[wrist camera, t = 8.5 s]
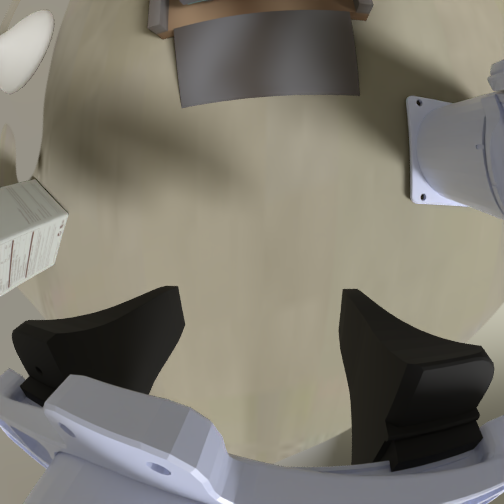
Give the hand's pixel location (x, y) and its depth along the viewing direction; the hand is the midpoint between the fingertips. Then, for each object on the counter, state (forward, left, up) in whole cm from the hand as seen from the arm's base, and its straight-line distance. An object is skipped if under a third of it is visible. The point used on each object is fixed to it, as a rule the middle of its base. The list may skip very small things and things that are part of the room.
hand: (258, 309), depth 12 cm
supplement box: (+25, -3, -10) cm, 27 cm away
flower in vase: (+28, -25, -10) cm, 39 cm away
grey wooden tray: (0, -19, -10) cm, 22 cm away
